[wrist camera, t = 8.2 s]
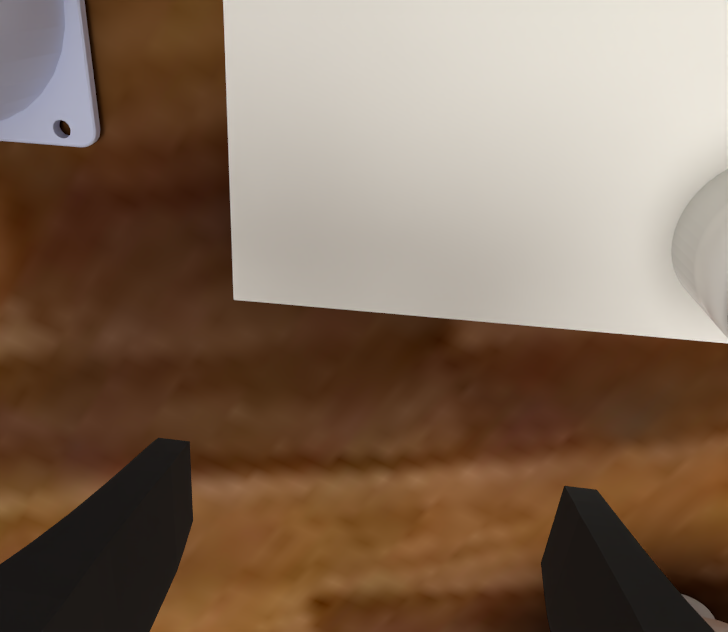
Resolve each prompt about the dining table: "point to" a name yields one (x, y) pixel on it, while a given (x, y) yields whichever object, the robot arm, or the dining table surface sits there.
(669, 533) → the dining table surface
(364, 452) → the dining table surface
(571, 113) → the shelf board
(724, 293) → the spice jar
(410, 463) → the dining table surface
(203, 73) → the dining table surface
